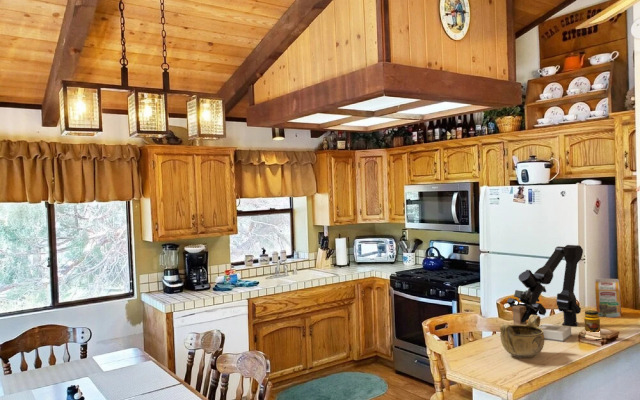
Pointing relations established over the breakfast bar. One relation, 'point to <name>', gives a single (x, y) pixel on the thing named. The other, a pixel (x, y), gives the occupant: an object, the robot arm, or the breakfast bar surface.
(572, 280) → the robot arm
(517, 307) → the peg
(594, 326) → the condiment
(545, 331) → the socket block
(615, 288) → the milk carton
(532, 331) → the ceramic bowl
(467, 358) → the breakfast bar surface
